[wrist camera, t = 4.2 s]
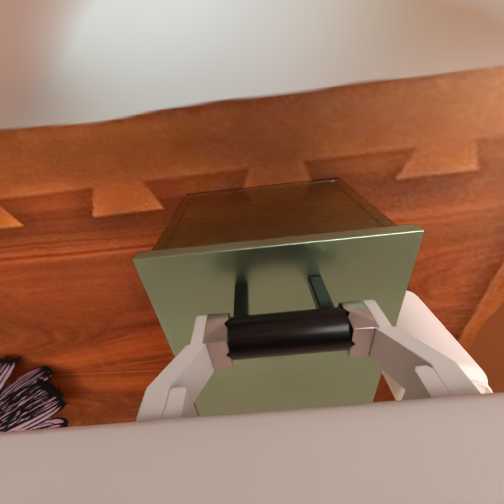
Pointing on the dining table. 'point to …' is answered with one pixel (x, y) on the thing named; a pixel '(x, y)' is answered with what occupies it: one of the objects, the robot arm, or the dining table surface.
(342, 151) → the dining table surface
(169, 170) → the dining table surface
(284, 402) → the lid
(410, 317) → the beverage can
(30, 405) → the decorative flower
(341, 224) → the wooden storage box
